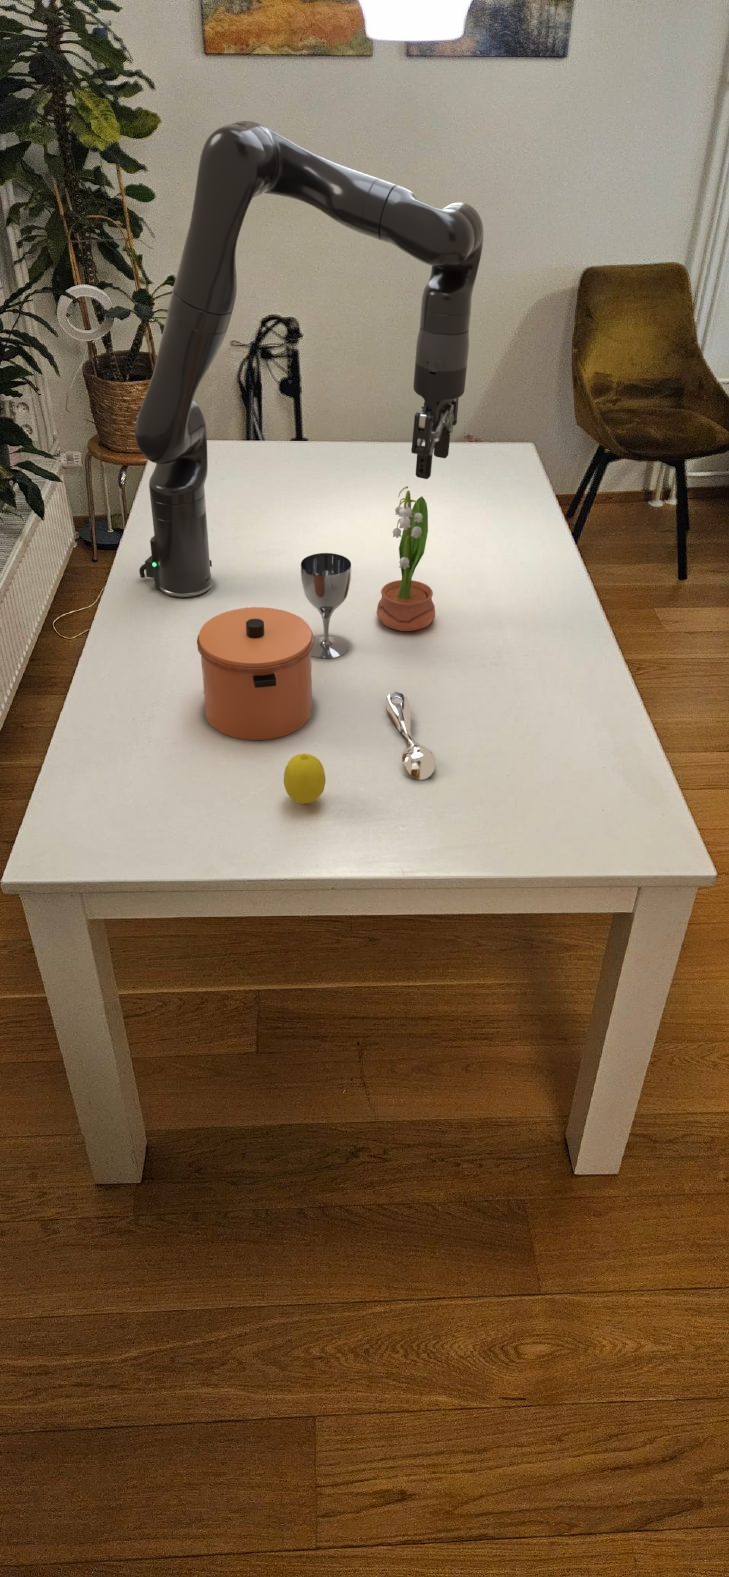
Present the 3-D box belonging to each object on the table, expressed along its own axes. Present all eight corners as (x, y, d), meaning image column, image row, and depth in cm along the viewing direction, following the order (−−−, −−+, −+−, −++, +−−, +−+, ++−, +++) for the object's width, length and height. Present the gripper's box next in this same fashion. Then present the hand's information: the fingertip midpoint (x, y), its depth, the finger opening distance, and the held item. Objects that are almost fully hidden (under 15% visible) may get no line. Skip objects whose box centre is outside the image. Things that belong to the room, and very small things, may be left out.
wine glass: (356, 640, 183) (358, 557, 174) (340, 663, 177) (341, 579, 168) (312, 632, 185) (311, 549, 176) (294, 654, 179) (292, 570, 170)
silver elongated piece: (380, 682, 165) (411, 679, 166) (379, 701, 168) (409, 698, 168) (406, 766, 151) (440, 763, 151) (405, 786, 153) (438, 783, 154)
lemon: (283, 791, 150) (282, 743, 145) (324, 789, 150) (324, 742, 146) (285, 816, 146) (283, 768, 141) (326, 814, 146) (326, 766, 141)
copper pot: (209, 752, 157) (202, 662, 148) (197, 682, 172) (189, 597, 163) (325, 739, 160) (324, 650, 151) (303, 672, 175) (301, 587, 166)
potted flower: (428, 644, 182) (437, 501, 167) (369, 637, 184) (372, 495, 169) (438, 611, 192) (448, 472, 176) (382, 604, 193) (386, 466, 178)
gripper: (432, 341, 165) (424, 446, 175) (400, 370, 154) (393, 479, 165) (480, 350, 163) (468, 455, 173) (450, 379, 152) (440, 489, 163)
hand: (431, 467), depth 169 cm, fingers open, 8 cm apart
